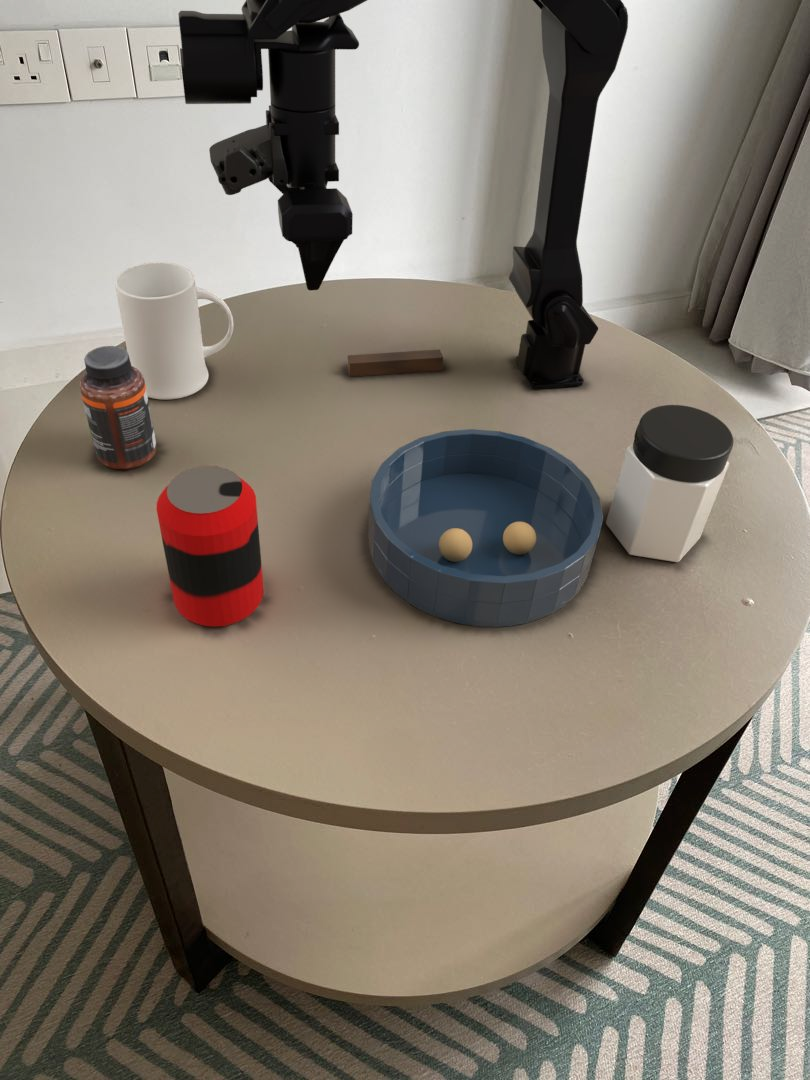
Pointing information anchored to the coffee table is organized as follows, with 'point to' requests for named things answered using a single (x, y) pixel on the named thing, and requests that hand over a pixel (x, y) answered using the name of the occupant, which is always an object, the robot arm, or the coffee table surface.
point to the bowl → (482, 526)
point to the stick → (394, 363)
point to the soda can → (211, 545)
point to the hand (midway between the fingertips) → (306, 267)
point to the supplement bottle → (117, 409)
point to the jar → (669, 481)
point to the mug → (166, 327)
